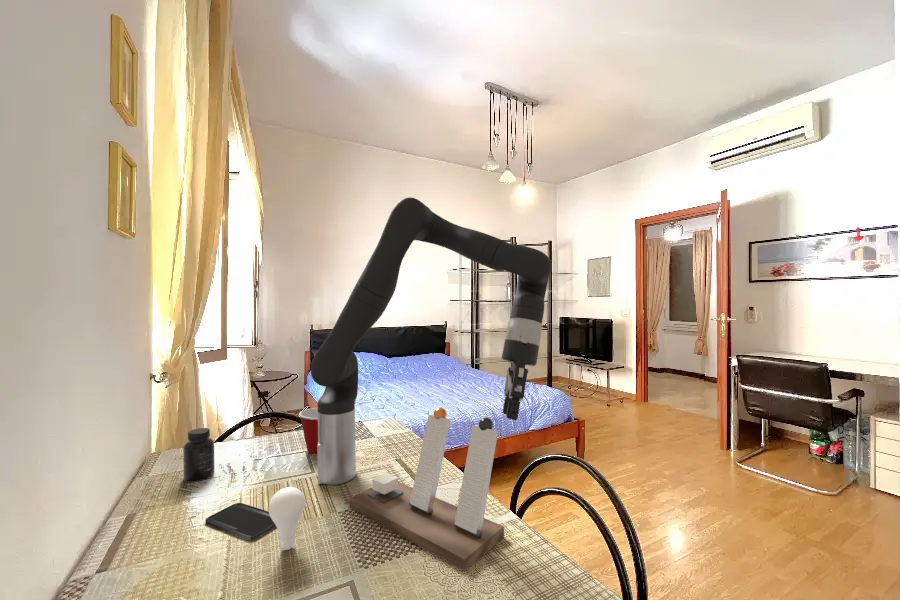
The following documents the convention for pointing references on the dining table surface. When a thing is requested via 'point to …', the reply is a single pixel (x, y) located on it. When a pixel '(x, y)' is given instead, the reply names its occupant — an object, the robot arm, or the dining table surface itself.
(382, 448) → the dining table surface
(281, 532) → the lightbulb
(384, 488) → the white button
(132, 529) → the dining table surface
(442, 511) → the walnut panel
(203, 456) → the supplement bottle
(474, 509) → the grey upright post
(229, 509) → the phone
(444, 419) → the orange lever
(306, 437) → the plastic cup
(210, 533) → the dining table surface
